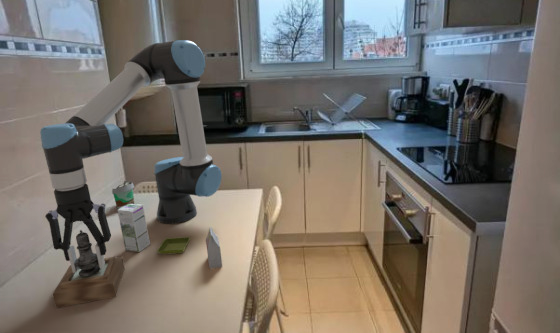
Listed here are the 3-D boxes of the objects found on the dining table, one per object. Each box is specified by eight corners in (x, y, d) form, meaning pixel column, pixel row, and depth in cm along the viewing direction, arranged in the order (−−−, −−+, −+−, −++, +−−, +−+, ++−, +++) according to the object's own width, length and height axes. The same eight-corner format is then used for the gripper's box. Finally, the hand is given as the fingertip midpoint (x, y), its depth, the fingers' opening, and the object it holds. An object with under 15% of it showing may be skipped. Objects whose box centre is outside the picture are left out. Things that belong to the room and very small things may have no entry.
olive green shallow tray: (157, 257, 112) (156, 251, 112) (165, 243, 121) (165, 238, 120) (185, 255, 112) (184, 249, 112) (191, 242, 120) (190, 236, 120)
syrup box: (150, 244, 120) (143, 203, 116) (138, 252, 115) (131, 210, 111) (137, 242, 122) (129, 202, 118) (124, 250, 117) (116, 209, 113)
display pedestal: (124, 268, 106) (121, 253, 104) (115, 296, 93) (112, 279, 91) (73, 277, 103) (69, 261, 101) (56, 307, 89) (51, 289, 88)
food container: (130, 211, 151) (126, 188, 148) (115, 211, 151) (111, 189, 148) (141, 200, 163) (137, 179, 160) (128, 201, 163) (124, 180, 160)
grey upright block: (220, 255, 110) (216, 225, 108) (222, 266, 104) (218, 235, 101) (208, 257, 109) (204, 227, 107) (209, 268, 103) (205, 237, 100)
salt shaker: (91, 277, 93) (82, 235, 90) (72, 276, 94) (62, 234, 91) (106, 265, 98) (98, 225, 95) (88, 264, 100) (79, 224, 96)
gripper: (113, 177, 95) (128, 255, 102) (34, 186, 91) (55, 267, 98) (107, 185, 88) (124, 268, 95) (21, 196, 84) (45, 282, 91)
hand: (89, 267), depth 96 cm, fingers closed on salt shaker, 6 cm apart
